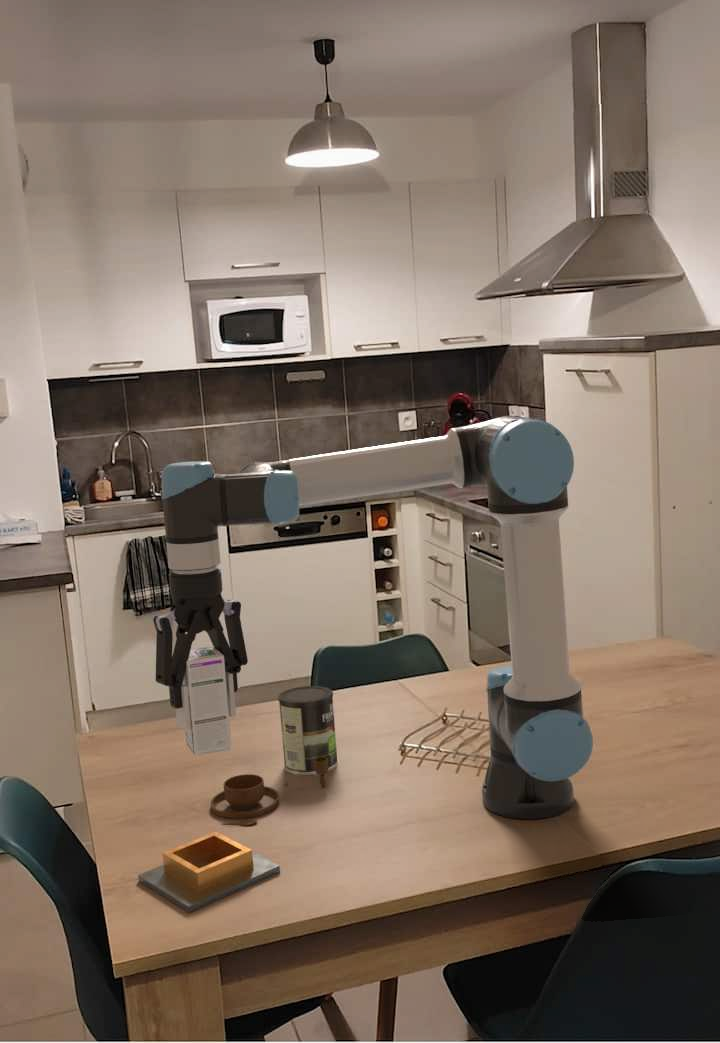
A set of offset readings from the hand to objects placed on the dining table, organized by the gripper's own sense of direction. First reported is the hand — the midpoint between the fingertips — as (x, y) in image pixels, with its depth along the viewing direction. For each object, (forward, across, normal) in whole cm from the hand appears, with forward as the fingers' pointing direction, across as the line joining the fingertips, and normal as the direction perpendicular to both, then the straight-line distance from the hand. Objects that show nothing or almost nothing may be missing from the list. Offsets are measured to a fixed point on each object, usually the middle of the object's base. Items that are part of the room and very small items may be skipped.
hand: (206, 720), depth 158 cm
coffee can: (+24, -36, -23) cm, 49 cm away
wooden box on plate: (+24, +2, 0) cm, 24 cm away
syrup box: (+4, 0, 0) cm, 4 cm away
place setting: (+24, -20, -15) cm, 35 cm away
